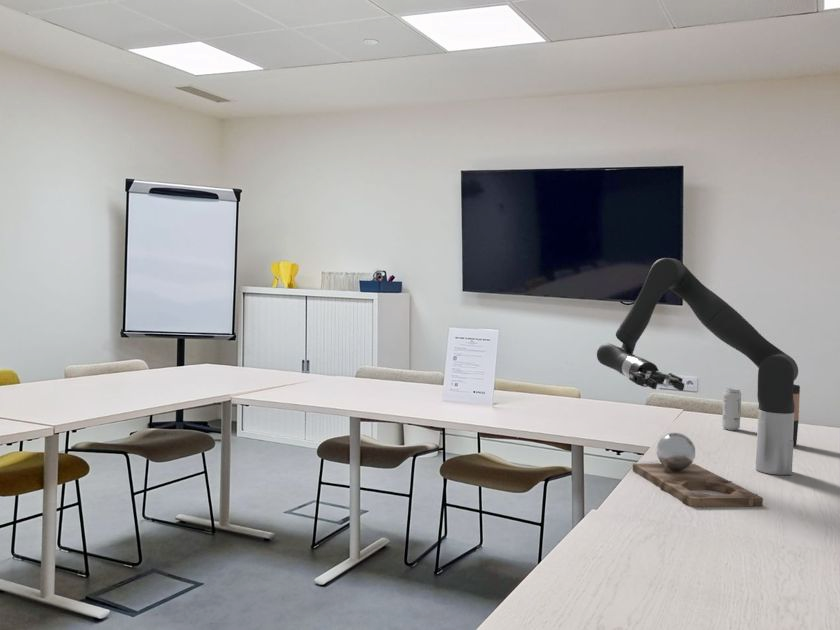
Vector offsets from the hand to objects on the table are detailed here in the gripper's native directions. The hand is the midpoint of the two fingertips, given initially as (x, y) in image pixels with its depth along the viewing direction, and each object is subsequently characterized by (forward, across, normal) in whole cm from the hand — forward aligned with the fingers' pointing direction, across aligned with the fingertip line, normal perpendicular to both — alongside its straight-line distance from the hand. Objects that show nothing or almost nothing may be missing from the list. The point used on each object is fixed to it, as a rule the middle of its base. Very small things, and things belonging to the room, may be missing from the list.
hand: (669, 386), depth 213 cm
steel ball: (+10, -1, +15) cm, 18 cm away
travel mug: (-24, +64, +24) cm, 72 cm away
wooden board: (+20, -2, +21) cm, 29 cm away
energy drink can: (-50, +62, +28) cm, 85 cm away
